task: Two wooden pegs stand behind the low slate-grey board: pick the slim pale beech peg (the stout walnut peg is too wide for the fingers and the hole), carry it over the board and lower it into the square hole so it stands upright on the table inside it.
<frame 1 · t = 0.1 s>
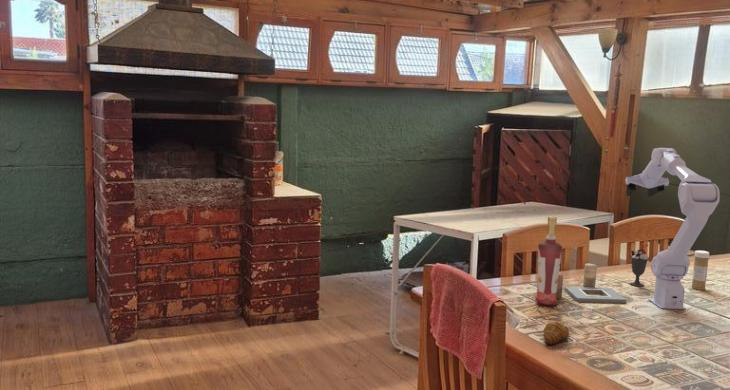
hand: (638, 194, 231), 32 cm above the table, tool tilted 50°, fingers open, 7 cm apart
slim peg: (588, 287, 224), on the table
sprinkles bottle: (698, 288, 228), on the table
socket board: (594, 296, 214), on the table
fat peg: (550, 295, 213), on the table
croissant: (555, 340, 173), on the table
sundae: (636, 285, 229), on the table
liquor: (545, 304, 204), on the table
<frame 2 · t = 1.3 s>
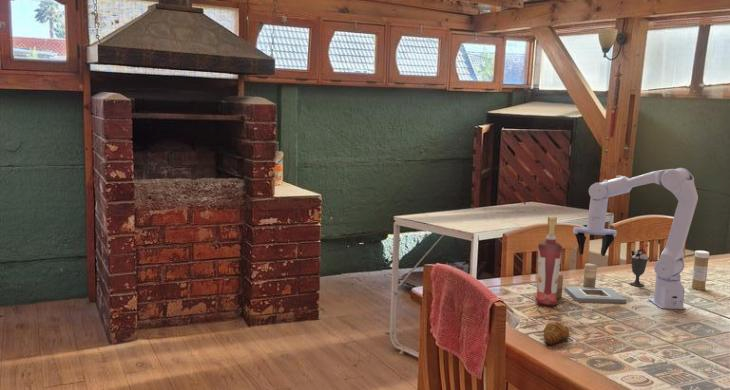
hand: (591, 254, 224), 11 cm above the table, tool pointing down, fingers open, 7 cm apart
nothing on the table moved.
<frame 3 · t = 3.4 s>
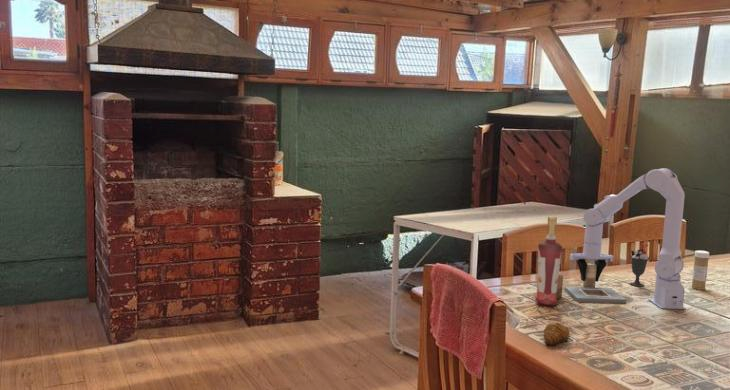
hand: (589, 280, 224), 2 cm above the table, tool pointing down, fingers closed on slim peg, 4 cm apart
slim peg: (588, 287, 224), on the table, touching gripper
everything else where it was.
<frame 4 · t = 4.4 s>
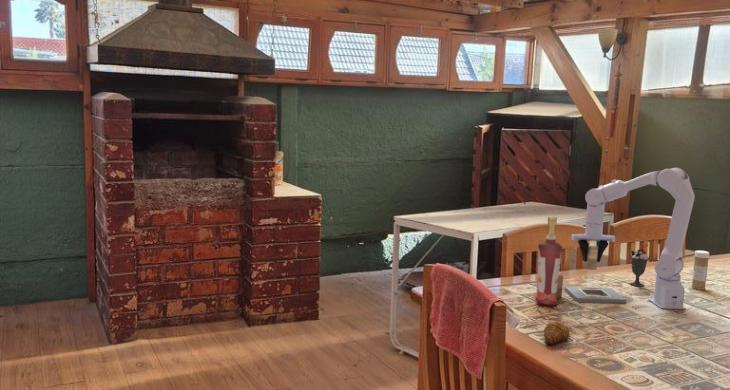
hand: (591, 261, 223), 9 cm above the table, tool pointing down, fingers closed on slim peg, 4 cm apart
slim peg: (590, 268, 223), point 7 cm above the table, touching gripper
everything else where it was.
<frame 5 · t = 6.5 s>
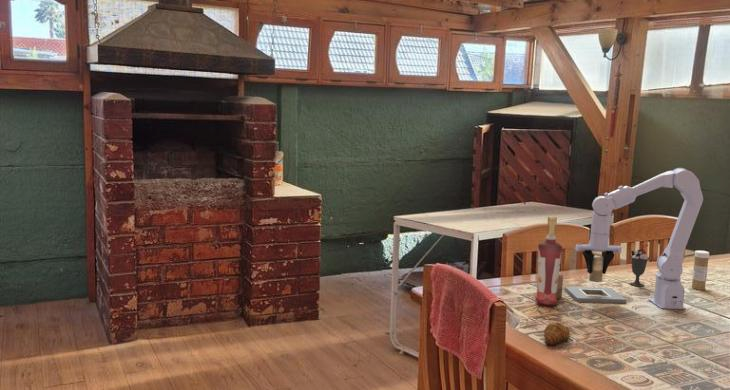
hand: (596, 272, 212), 8 cm above the table, tool pointing down, fingers closed on slim peg, 4 cm apart
slim peg: (595, 280, 213), point 5 cm above the table, touching gripper
everything else where it was.
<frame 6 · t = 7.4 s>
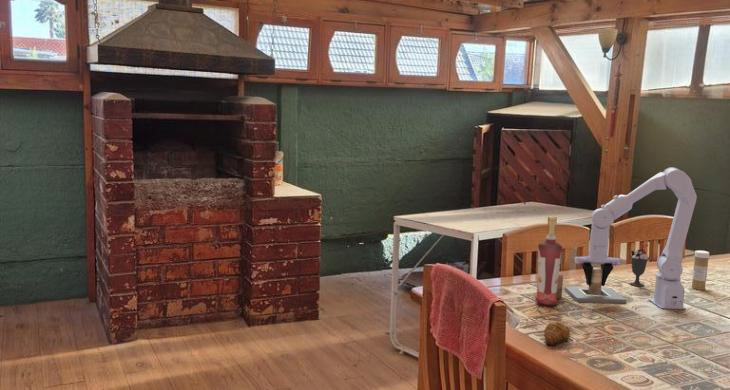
hand: (595, 285, 213), 4 cm above the table, tool pointing down, fingers closed on slim peg, 4 cm apart
slim peg: (594, 292, 213), point 1 cm above the table, touching gripper
everything else where it was.
when the fingers open (4 cm above the table, at t = 8.5 s): slim peg drops 1 cm, resting in socket board.
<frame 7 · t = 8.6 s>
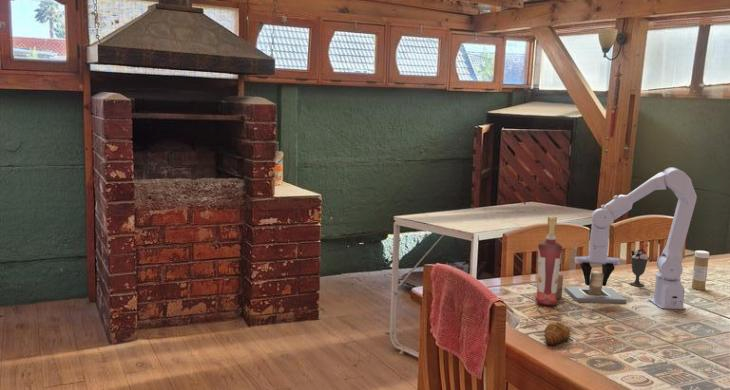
hand: (595, 285, 213), 4 cm above the table, tool pointing down, fingers open, 5 cm apart
slim peg: (594, 296, 214), resting in socket board
everything else where it was.
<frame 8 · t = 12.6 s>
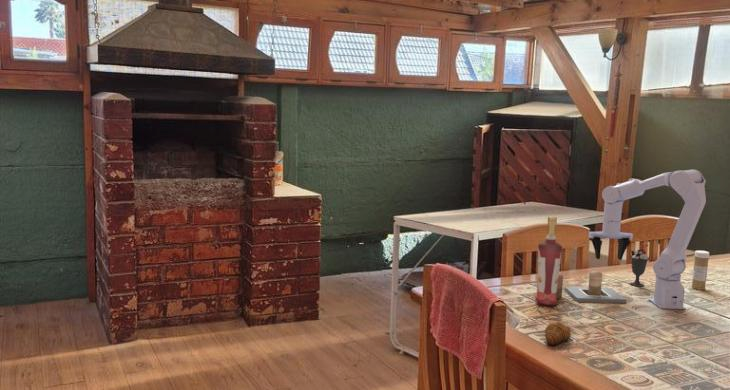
hand: (608, 258, 223), 10 cm above the table, tool pointing down, fingers open, 7 cm apart
nothing on the table moved.
at the end: slim peg 0.1 cm off-centre on the socket board, point 0.0 cm above the socket board's base; slim peg tilted 1°; the gripper is holding nothing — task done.
